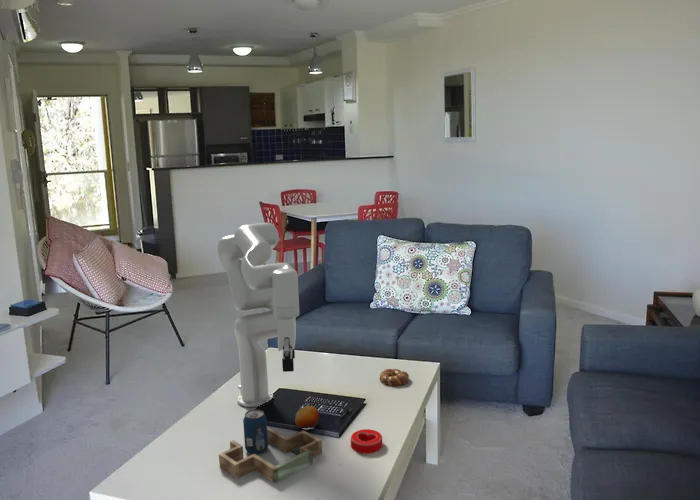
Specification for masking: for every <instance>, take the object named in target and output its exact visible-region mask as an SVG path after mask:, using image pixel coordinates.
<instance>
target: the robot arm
mask: <svg viewBox="0 0 700 500" xmlns="http://www.w3.org/2000/svg"><path fill="white" fill-rule="evenodd" d="M279 237H280V236H279V231H278V229H277V227H276V226H275V225H274V224H273V223H271V222H260V223H259V222H258V223H249V224H244V225H241V226H239V227H238V228H237V229H236V230H235V231H234V234H231V235H230V234H229V235H227V236H224V237H222V238H220V239H219V240H218V242H217V253H218V258H219V260H220V263H221V265H222V266H223V267H222V268H223V269H224V271H225V273H226V275H227V279H228V284H229V287H230V293H231V297H232V303H233V306H234V308H235V310H236V311H238V312H250V311H256V310H263V309H264V310H265V311H264V312H256V313H251V314H245V315H242V316H240V317H238V318H237V319H236V320H235V321H234V325H233V327H234V328H233V330H234V334H235V338H236V342H237V350H238V362H239V375H240V376H239V377H240V384H239V385H237V389H239V390H240V394H239V395H238V396H237V403H238V404H239V406H241V407H246V408H257V407H258V406H259V407H261V406H260V405H262V404H263V403H265V402H268V401H269V400H271V399H272V398H273V399H274V394H273V393H272V392H271V391H269V381H268V380H269V379H268V377H269V376H268V363H267V352H266V350H265V348H264V347H263V345H261V344H260V343H259V342H261V341H264V340H265V341H266V340H268V339H269V340H270V339H273V338H277V350H278V352H281V351H282V358H281V362H282V363H281V364H282V372H283V373H284V372H286V373H287V372H289V373H290V372H294V368H295V367H294V360H295V357H296V356H295V355H296V354H295V347H296V337H297V336H296V335H297V331H296V329H297V324H296V319H297V317H299V316H300V298H299V297H300V296H299V277H298V272H297V270H295V269H294V268H293V267H292V266H291V264H290V263H288V262H276V263H275V262H274V263H268V264H267V262H269V260H270V259H271V257H272V253H273V249H274V248H275V247H276V246H277V245H278V243H279Z"/></svg>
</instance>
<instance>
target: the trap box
mask: <svg viewBox="0 0 700 500" xmlns="http://www.w3.org/2000/svg"><path fill="white" fill-rule="evenodd" d="M267 434H268V443H270V444H272V445H274V446H275V447H276V448H279V449H280V450H282V451H284V452H286V453H288V454H289V453H290V452H291V453H292V454H294V455H295V456H294V457H292V458H290V459H287V460H285V461H284V462H281V463H280V464H277V465H273V464H272V463H270V462H269V461H267V460H265V459H264V458H262V457H261V456H259V455H256V454H252V455H251V454H249V456H246V457H244V446H243V444H242V445H241V444H240V443H239V442H237V441H235V440H231V441H229V448H230V449H228V450H226V451H223V452H221V453H219V454H218V460H219V461H218V462H219V468H221V469H222V470H223V471H225V472H227V474H229V475H230V476H232V477H234V478H235V479H238V478H239V477H242V476H244V475H246V474H247V473H249V472H253V471H254V470H255V471H256V472H257V473H259V474H261V475H262V476H264V477H265V478H267V479H268V480H270V481H271V482H273V483H275V484H276V483H278V482H280V481H281V480H283V479H285V478H287V477H289V476H292V475H294V474H295V473H297V472H299V471H301V470H303V469H305V468H306V467H309V466H311V465H312V464H313V457H315V456H317V455H318V454H322V452H323V442H322V439H321V438H319V437H317V436H315V435H314V434H311V433H309V432H308V431H306V430H301V431H299V432H297V433H295V434H292V435H290V436H289V437H287V436H285V435H283V434H281V433H280V432H278V431H276V430H274V429H273V428H271V427H270V426H267Z"/></svg>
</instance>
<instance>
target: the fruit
mask: <svg viewBox="0 0 700 500" xmlns="http://www.w3.org/2000/svg"><path fill="white" fill-rule="evenodd" d="M294 419H295V421H294V423H295V425H296V427H297V428H298V429H300V428H301V429H302V428H308V427H313V426H315V425H316V426H318V424H319V420H320V413H319V410H318V409H317V408H316V407H315V406H313V405H305V406H303V407H301V408H300V409H298V410H297V412H296V413H295V417H294ZM317 423H318V424H317ZM301 429H300V430H301Z"/></svg>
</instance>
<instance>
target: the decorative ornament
mask: <svg viewBox="0 0 700 500" xmlns="http://www.w3.org/2000/svg"><path fill="white" fill-rule="evenodd" d="M350 448H351V449H352V451H355V452H356V453H358V454H359V453H360V454H365V455H366V454H373V453H377V452H380V450H382V448H383V436H382V434H381V433H380V432H379V431H377V430H374V429H364V428H363V429H360V430H356V431H354V432H353V433H352V434H351V436H350Z"/></svg>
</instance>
